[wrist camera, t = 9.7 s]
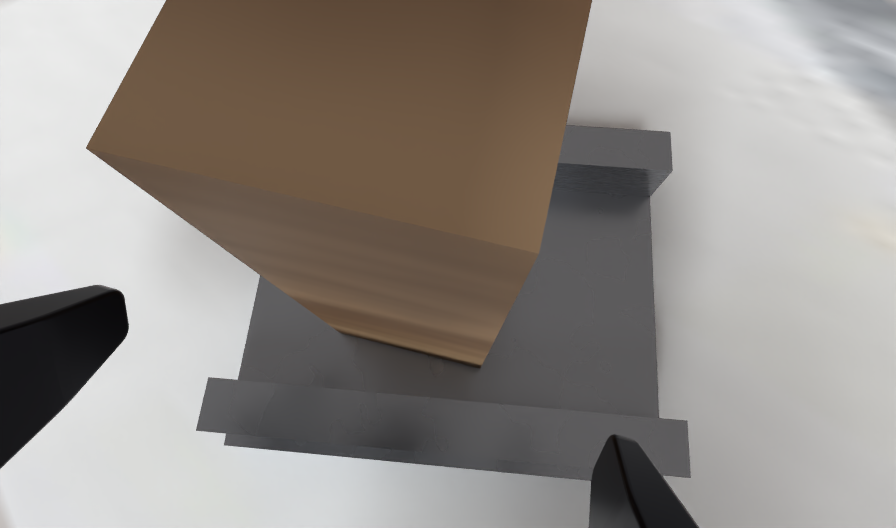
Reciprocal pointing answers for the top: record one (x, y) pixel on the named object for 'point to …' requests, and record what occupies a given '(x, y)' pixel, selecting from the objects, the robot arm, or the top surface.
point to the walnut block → (360, 150)
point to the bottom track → (509, 359)
